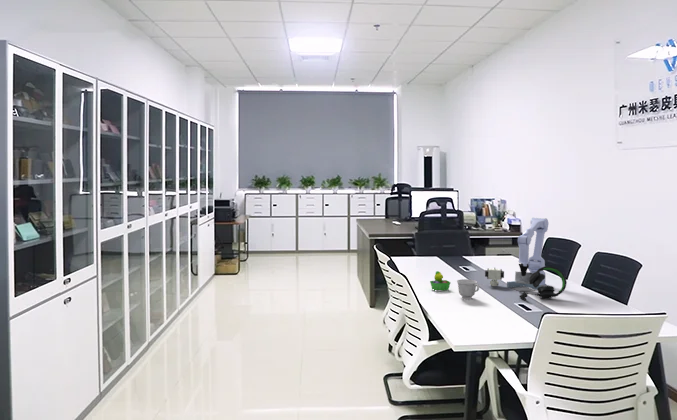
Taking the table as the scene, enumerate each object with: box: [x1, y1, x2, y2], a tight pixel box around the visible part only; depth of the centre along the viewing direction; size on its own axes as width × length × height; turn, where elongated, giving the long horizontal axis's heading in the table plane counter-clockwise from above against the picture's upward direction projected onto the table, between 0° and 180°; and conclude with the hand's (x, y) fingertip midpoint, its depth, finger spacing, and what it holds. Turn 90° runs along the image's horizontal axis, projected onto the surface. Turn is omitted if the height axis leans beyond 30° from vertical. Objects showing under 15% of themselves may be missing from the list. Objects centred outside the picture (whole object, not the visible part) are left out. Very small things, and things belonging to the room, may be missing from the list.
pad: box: [510, 286, 538, 293], centre depth 307 cm, size 11×12×1 cm
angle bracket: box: [514, 271, 533, 284], centre depth 305 cm, size 10×6×6 cm, turn 76°
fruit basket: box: [429, 270, 451, 291], centre depth 308 cm, size 11×9×11 cm
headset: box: [518, 265, 567, 301], centre depth 284 cm, size 18×14×29 cm
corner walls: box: [506, 280, 542, 291], centre depth 309 cm, size 14×15×4 cm
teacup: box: [456, 278, 480, 300], centre depth 285 cm, size 12×15×10 cm
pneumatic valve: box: [484, 267, 505, 287], centre depth 318 cm, size 6×12×12 cm, turn 72°
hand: (523, 275), depth 307 cm, fingers closed on angle bracket
